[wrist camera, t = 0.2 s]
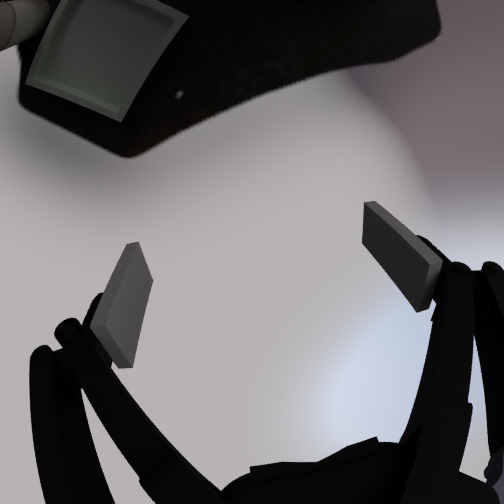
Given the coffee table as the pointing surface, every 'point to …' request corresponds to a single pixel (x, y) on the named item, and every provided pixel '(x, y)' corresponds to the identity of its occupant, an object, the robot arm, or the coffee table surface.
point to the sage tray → (103, 51)
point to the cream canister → (22, 21)
